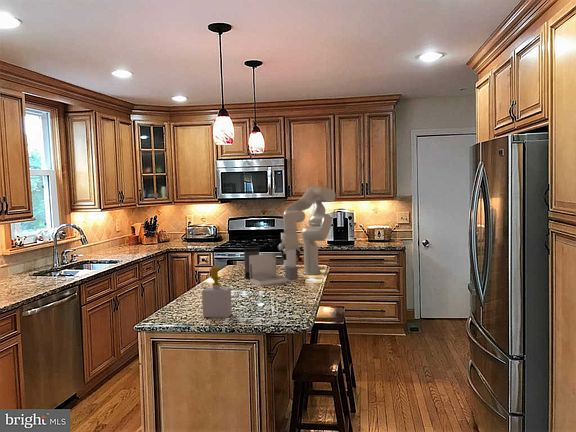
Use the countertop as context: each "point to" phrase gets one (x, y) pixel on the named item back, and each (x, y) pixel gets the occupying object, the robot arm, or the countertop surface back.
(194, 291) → the countertop surface
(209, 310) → the soap bottle
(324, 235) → the robot arm
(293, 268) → the block
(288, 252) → the speaker
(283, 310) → the countertop surface
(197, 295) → the countertop surface
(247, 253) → the electronic device
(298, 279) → the flat beige panel
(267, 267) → the case
